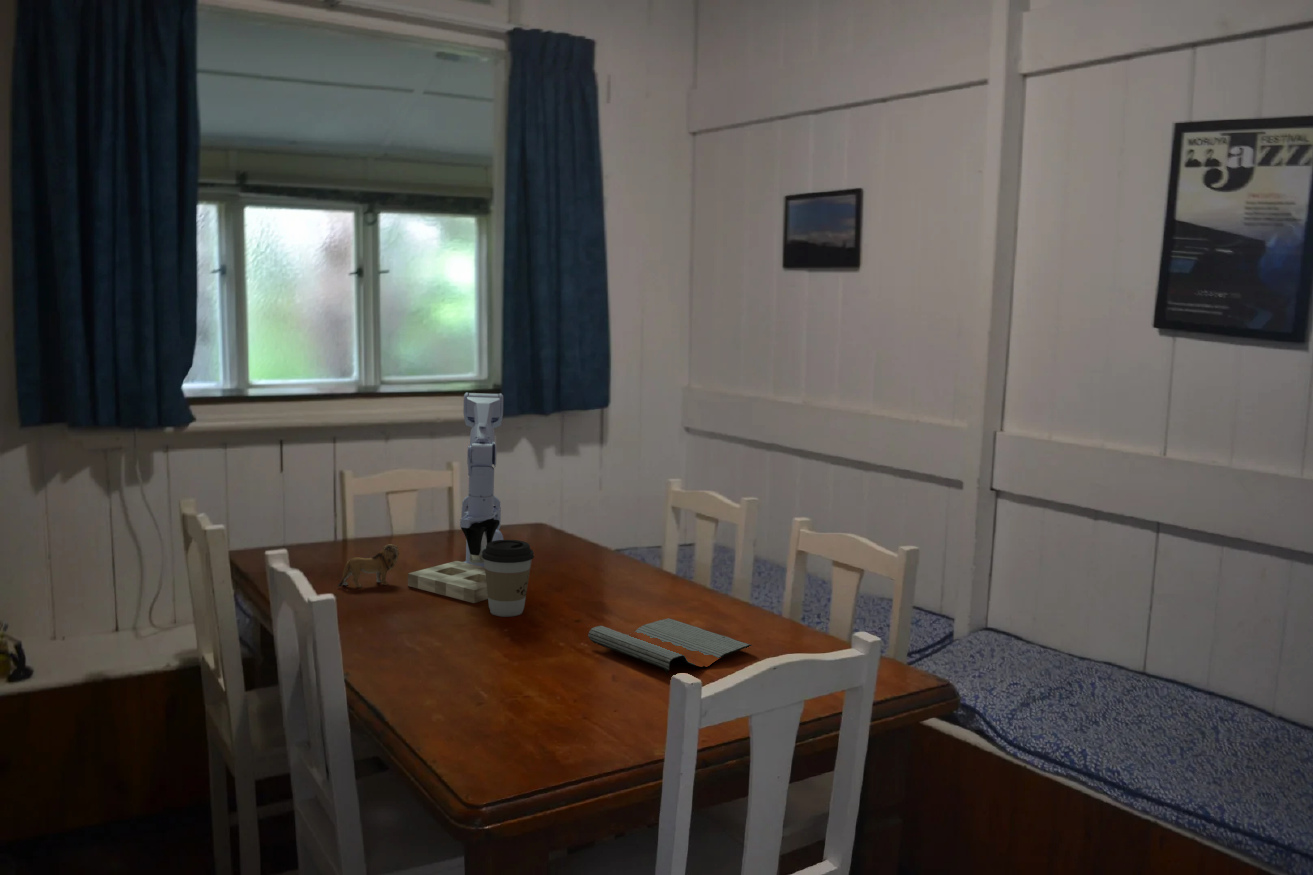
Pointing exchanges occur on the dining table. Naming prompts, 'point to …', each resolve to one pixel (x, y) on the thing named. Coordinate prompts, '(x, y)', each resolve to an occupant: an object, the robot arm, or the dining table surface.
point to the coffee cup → (507, 575)
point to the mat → (666, 632)
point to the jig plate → (452, 581)
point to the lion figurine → (372, 565)
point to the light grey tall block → (483, 546)
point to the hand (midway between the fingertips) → (479, 552)
